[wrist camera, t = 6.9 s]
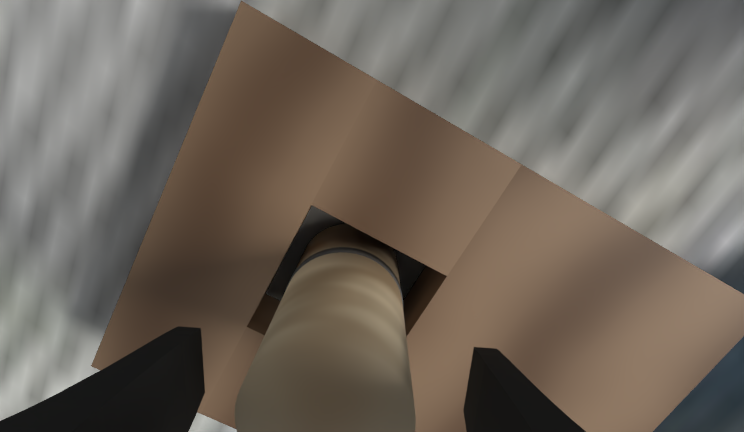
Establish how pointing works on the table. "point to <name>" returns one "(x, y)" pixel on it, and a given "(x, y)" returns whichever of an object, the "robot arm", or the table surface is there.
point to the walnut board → (410, 246)
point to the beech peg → (334, 345)
